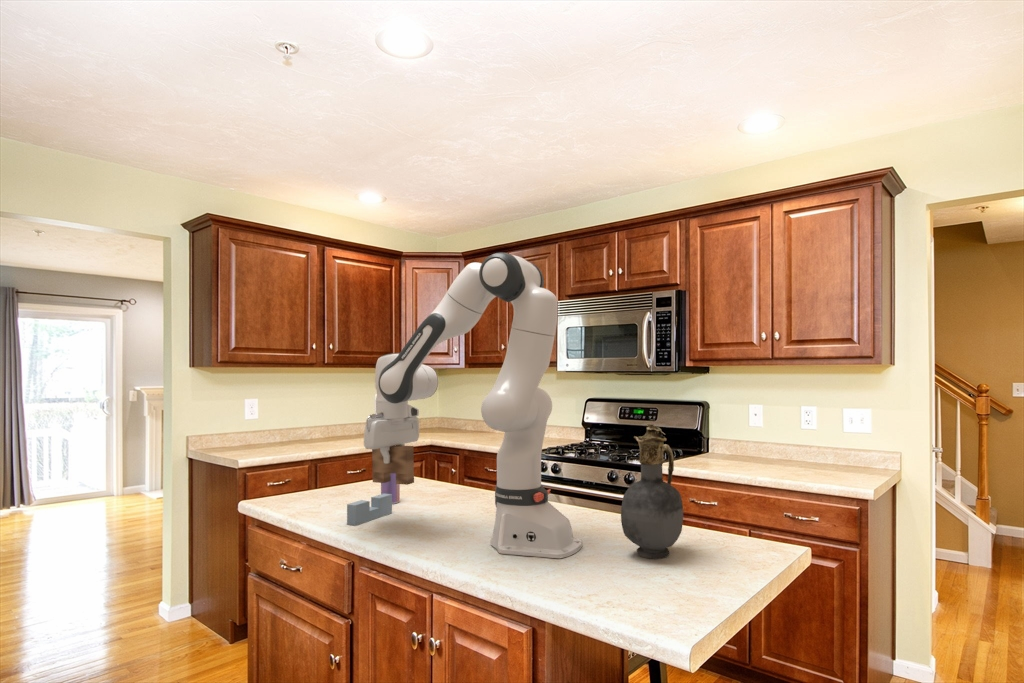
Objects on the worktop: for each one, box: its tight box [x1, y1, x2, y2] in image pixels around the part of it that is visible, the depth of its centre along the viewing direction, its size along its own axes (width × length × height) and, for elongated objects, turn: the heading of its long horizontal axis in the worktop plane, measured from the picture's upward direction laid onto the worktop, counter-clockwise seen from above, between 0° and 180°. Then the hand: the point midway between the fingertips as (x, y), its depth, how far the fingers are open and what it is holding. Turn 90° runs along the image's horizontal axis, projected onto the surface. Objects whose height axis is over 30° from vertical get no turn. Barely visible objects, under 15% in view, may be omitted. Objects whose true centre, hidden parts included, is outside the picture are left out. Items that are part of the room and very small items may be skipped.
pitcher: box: [620, 423, 684, 560], centre depth 141 cm, size 11×19×30 cm, turn 141°
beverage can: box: [380, 473, 401, 505], centre depth 194 cm, size 6×6×15 cm
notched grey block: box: [346, 493, 393, 526], centre depth 174 cm, size 3×16×6 cm, turn 153°
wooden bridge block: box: [371, 445, 415, 486], centre depth 165 cm, size 12×3×10 cm, turn 63°
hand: (393, 461), depth 166 cm, fingers closed on wooden bridge block, 3 cm apart
